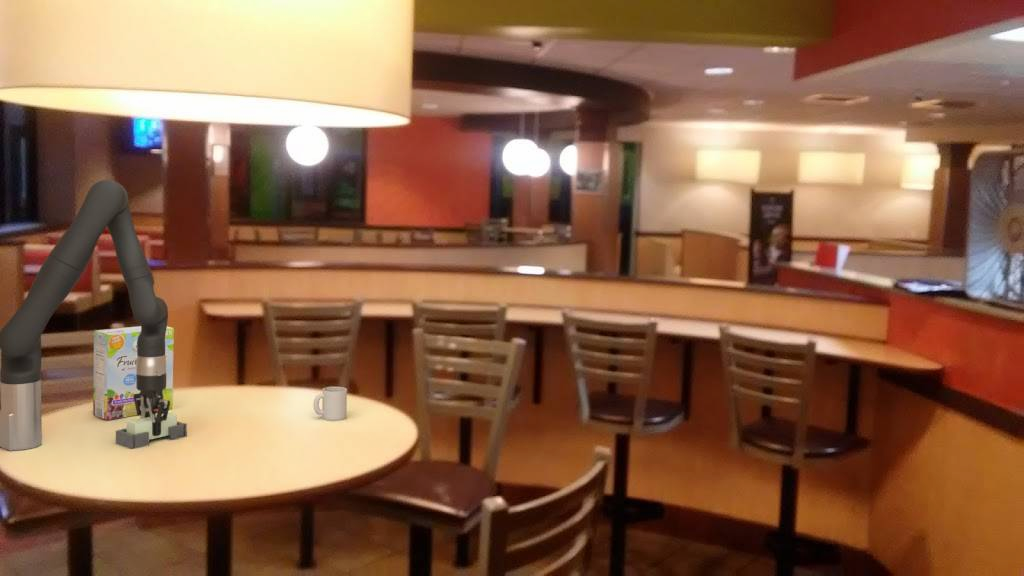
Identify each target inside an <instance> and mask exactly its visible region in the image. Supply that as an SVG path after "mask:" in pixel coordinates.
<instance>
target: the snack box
mask: <svg viewBox="0 0 1024 576" xmlns="http://www.w3.org/2000/svg"><path fill="white" fill-rule="evenodd" d="M140 333H141V325H139V326H130V327H129V326H128V327H118V328H110V329H109V328H108V329H99V330H94V331H93V389H92V391H93V392H92V393H93V394H92V395H93V398H92V399H93V404H92V405H93V406H92V415H93V416H95V417H98V418H99V419H102V420H105V421H110V420H117V419H122V418H129V417H134V416H138V415H137V412H136V407H135V401H134V394H138V393H140V390H138V389H137V387H136V363H137V340H138V336H139V335H140ZM174 337H175V328H174V327H171V326H168V325H167V328H166V334H165V357H166V388H165V389H163V391H162V393H163V399H164V400H165V401H168V400H169V401H170V406H169V410H173V401H174V400H173V397H174V396H173V395H174V393H173V392H174V389H173V388H174V345H175V343H174V341H175V338H174ZM156 410H158V409H154V411H156ZM140 411H141V410H140ZM147 413H148V411H147Z"/></svg>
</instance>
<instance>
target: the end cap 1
mask: <svg viewBox="0 0 1024 576" xmlns="http://www.w3.org/2000/svg"><path fill="white" fill-rule="evenodd" d="M115 444H116V445H119V446H122V447H125V448H128V449H130V450H135V449H137V448H142V447H146V446H149V445H150V440H149V432H143V433H138V434H130V433H127V428H123V429H117V430H115Z"/></svg>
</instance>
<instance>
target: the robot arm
mask: <svg viewBox="0 0 1024 576" xmlns="http://www.w3.org/2000/svg"><path fill="white" fill-rule="evenodd" d="M106 228H107V229H108V231H109V234H110V237H111V241H112V243H113V247H114V251H115V255H116V259H117V262H118V266H119V270H120V273H121V276H122V278H123V281H124V283H125V285H126V287H127V291H128V297H129V302H130V308H131V311H132V314H133V316H134V318H135V320H136V321H137V322H138V323H139V324H140V326H141V333H140V335H139V336H138V340H137V363H136V387H137V389H138V390H140V393H138V394H134V401H135V407H136V412H137V415H136V416H140V419H141V418H146V417H151V416H152V422H153V423H152V435H153V436H158V435H160V434H161V421H164V420H166V419H167V415H168V413H169V410H170V409H169V406H170V401H169V400H168V401H165V400H164V399H163V393H162V391H163V389H165V388H166V357H165V334H166V328H167V326H168V319H169V308H168V306H167V303H166V302H165V300H164V299H163V298H161V297H159V296H156V293H155V290H154V285H155V278H154V275H153V273H152V270H151V267H150V264H149V262H148V259H147V256H146V254H145V252H144V249H143V247H142V245H141V242H140V240H139V237H138V235H137V232H136V228H135V225H134V222H133V217H132V212H131V207H130V202H129V194H128V191H127V189H126V187H124V186H123V185H122V184H121V183H119V182H117V181H114V180H111V179H102V180H99V181H97V182H94V184H92V186H91V187H89V190H88V192H87V193H86V196H85V198H84V200H83V202H82V204H81V206H80V208H79V210H78V212H77V214H76V216H75V218H74V220H73V222H71V224H70V225H69V227H68V228H67V229H66V230H65V232H64V233H63V234H62V235H61V237H60V238H59V240H58V241H57V243H55V245H54V247H53V248H52V250H51V251H50V253H49V254H48V256H47V257H46V259H45V260H44V262H43V264H42V265H41V267H40V268H39V271H37V274H36V276H35V278H34V280H33V282H32V284H31V286H30V289H29V291H28V292H27V294H26V297H25V298H24V301H23V302H22V303H21V304H20V306H19V308H18V309H17V310H16V312H15V313H14V314H13V316H12V317H10V319H9V320H8V321H7V322H6V323H5V324H4V326H3V327H2V328H1V329H0V354H1V355H0V358H1V362H0V448H2V449H4V450H6V451H10V452H11V451H21V450H30V449H34V448H37V447H39V446H41V445H42V444H43V433H42V432H43V431H42V429H43V427H42V423H43V422H42V385H41V384H42V381H41V380H42V379H41V376H42V375H41V374H42V373H41V372H42V335H43V332H44V331H45V328H46V327H47V324H48V322H49V321H50V319H51V317H52V316H53V314H54V313H55V311H56V310H57V309H58V308H59V307H60V306H61V304H63V302H64V301H65V299H66V298H67V297H68V296H69V294H70V293H71V292H72V290H73V289H74V288H75V286H76V285H77V283H78V282H79V281H80V279H81V277H82V276H83V274H84V272H85V271H86V269H87V267H88V265H89V263H90V262H91V259H92V257H93V254H94V252H95V249H96V246H97V243H98V241H99V239H100V237H101V236H102V234H103V232H104V231H105V229H106ZM154 409H158V410H156V411H154ZM140 410H141V411H140ZM147 411H148V413H147ZM162 414H163V416H162ZM156 415H157V417H156Z"/></svg>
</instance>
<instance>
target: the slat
mask: <svg viewBox="0 0 1024 576" xmlns="http://www.w3.org/2000/svg"><path fill="white" fill-rule="evenodd" d="M155 415H156V417H157V414H155ZM162 416H163V414H162ZM177 421H178V416H177V415H176V414H173V413H169V412H168V415H167V419H166V420H164V421H161V434H160V435H158V436H153V435H152V423H153V422H152V416H151V417H146V418H141V417H140V418H136V419H133V420H127V421H126V423H125V424H126V428H125V429H127V433H130V434H138V433H143V432H149V441H150V440H154V439H157V438H163V436H168V427H170V426H175V425H177Z"/></svg>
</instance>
